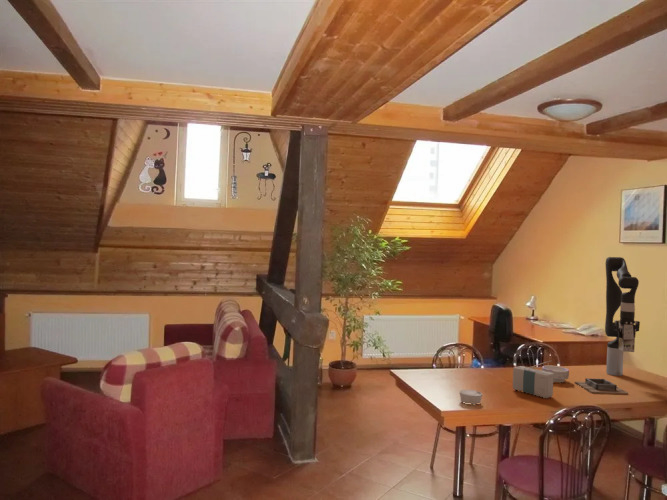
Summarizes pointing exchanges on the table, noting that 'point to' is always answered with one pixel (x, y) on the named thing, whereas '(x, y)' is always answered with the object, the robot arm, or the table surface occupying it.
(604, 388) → the collar board
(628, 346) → the coffee box
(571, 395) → the table surface
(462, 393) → the ramekin
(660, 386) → the table surface
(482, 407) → the table surface
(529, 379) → the stereo radio cassette player
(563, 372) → the paper bowls
